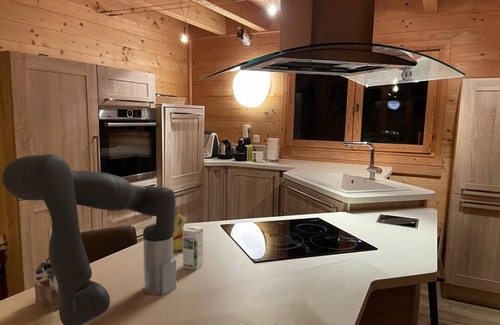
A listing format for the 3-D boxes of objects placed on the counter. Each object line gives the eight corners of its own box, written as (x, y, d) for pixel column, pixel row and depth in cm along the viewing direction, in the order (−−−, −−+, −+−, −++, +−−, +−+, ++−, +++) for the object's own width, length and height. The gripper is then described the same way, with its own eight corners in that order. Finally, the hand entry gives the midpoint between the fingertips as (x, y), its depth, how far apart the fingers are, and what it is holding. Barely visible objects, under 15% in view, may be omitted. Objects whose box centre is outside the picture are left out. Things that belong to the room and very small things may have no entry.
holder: (83, 297, 108) (82, 279, 107) (53, 311, 100) (52, 291, 99) (65, 289, 113) (64, 271, 112) (35, 302, 105) (34, 283, 104)
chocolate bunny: (164, 249, 148) (163, 214, 146) (190, 245, 152) (189, 211, 150) (168, 255, 142) (167, 218, 140) (194, 251, 146) (194, 215, 144)
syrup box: (182, 268, 130) (181, 229, 128) (190, 261, 135) (190, 225, 133) (196, 270, 128) (195, 231, 126) (203, 264, 133) (203, 227, 132)
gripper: (96, 259, 98) (80, 241, 111) (37, 272, 89) (28, 252, 102) (97, 285, 99) (82, 264, 112) (39, 300, 90) (30, 276, 103)
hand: (56, 258), depth 107 cm, fingers closed on cosmetic bottle, 3 cm apart
